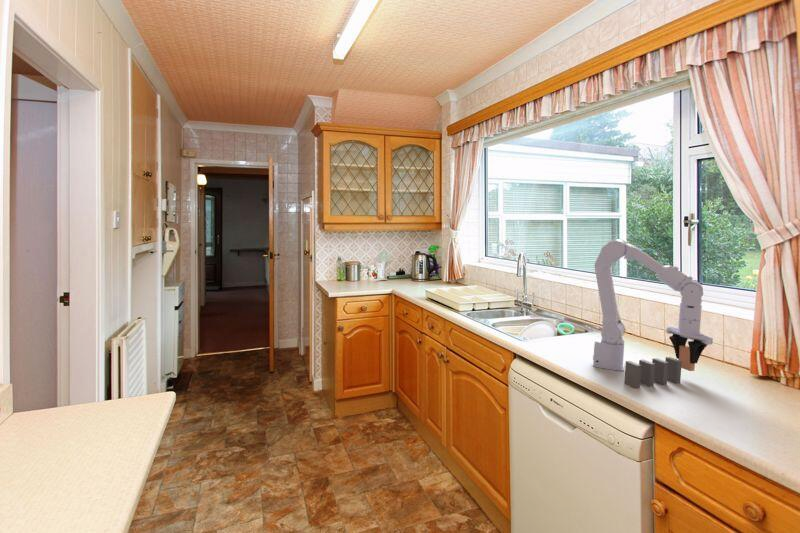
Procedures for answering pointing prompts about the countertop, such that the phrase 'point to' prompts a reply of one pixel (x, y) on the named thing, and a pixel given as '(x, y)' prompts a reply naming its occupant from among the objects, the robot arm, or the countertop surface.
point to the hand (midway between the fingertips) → (686, 360)
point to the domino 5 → (685, 358)
